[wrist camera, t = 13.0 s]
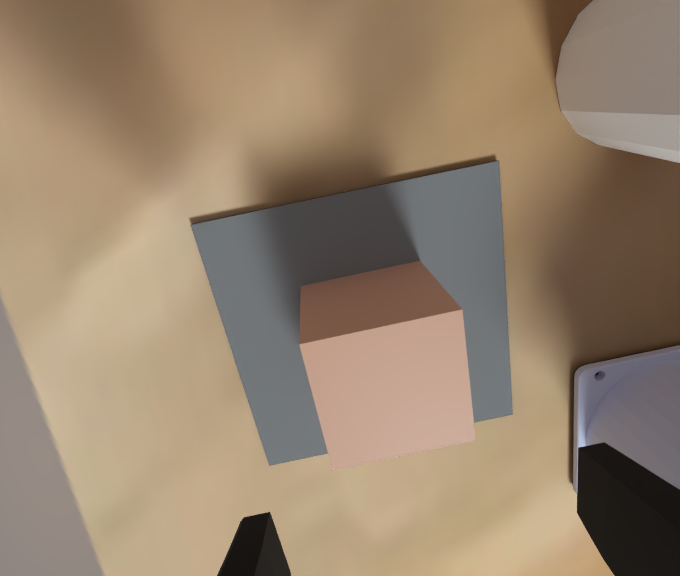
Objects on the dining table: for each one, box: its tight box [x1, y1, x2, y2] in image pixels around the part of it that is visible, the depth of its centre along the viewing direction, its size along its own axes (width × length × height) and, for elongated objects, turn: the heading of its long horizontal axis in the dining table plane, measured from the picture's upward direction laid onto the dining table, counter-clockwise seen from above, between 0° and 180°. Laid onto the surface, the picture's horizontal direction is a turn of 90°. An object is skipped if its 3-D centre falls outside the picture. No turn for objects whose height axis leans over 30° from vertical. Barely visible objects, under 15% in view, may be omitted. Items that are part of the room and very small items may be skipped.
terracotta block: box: [299, 261, 476, 471], centre depth 16 cm, size 5×5×5 cm
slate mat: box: [191, 161, 513, 466], centre depth 18 cm, size 12×12×1 cm
